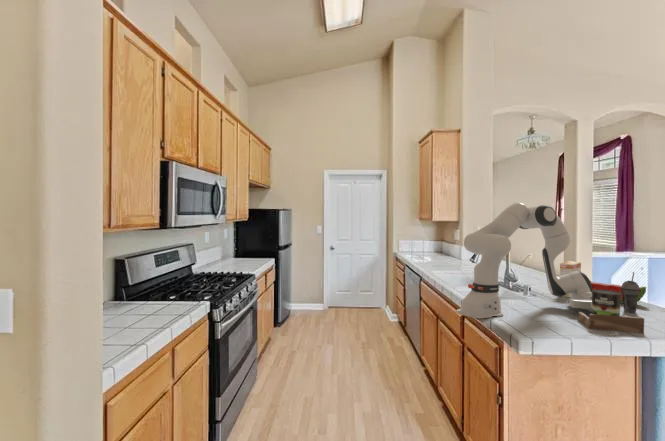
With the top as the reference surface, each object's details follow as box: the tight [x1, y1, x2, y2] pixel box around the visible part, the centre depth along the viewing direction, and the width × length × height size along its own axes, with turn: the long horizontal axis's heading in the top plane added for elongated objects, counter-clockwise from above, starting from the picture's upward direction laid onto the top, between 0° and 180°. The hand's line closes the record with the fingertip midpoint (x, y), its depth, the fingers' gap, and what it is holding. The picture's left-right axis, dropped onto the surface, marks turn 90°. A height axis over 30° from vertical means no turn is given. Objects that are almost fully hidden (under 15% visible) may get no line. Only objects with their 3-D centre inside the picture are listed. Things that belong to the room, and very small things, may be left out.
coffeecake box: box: [559, 260, 582, 298], centre depth 218 cm, size 15×7×20 cm, turn 130°
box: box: [577, 311, 645, 334], centre depth 159 cm, size 14×19×6 cm
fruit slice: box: [590, 280, 647, 304], centre depth 202 cm, size 26×6×10 cm, turn 45°
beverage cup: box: [621, 271, 640, 314], centre depth 181 cm, size 7×7×20 cm
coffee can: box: [591, 290, 621, 316], centre depth 163 cm, size 10×10×14 cm
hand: (600, 308), depth 167 cm, fingers closed, pressing on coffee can
